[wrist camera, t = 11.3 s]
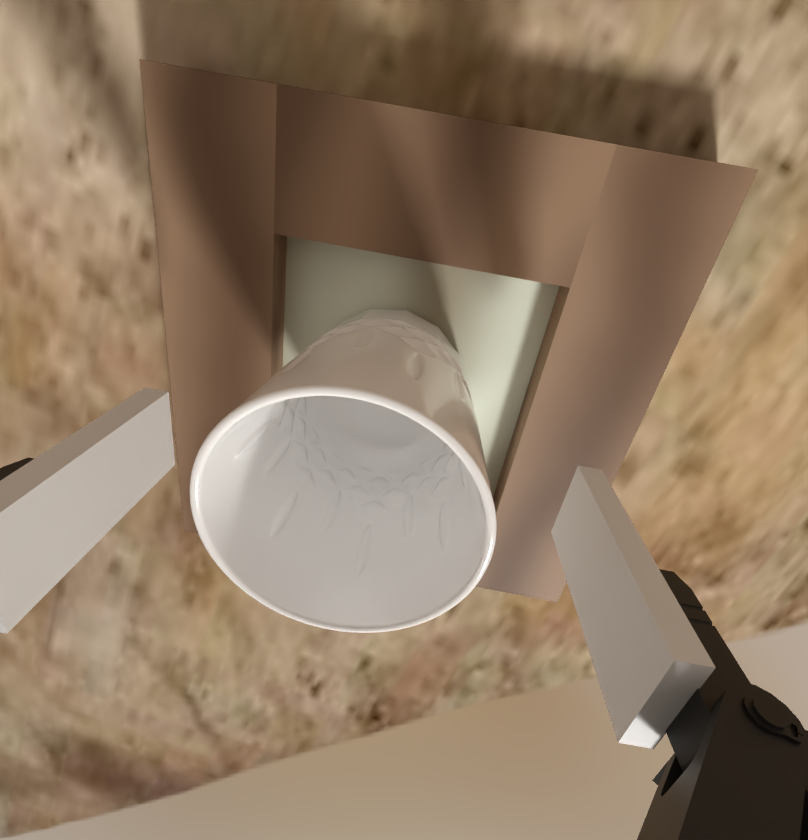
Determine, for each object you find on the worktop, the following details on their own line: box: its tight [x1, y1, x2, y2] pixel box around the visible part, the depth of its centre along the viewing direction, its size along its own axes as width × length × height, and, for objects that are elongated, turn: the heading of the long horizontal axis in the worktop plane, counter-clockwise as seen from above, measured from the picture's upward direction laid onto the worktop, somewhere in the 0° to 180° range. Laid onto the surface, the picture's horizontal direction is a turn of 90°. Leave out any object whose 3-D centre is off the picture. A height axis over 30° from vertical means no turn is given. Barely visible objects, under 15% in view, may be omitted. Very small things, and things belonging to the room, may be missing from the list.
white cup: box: [190, 309, 497, 633], centre depth 16 cm, size 8×8×10 cm
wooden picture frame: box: [140, 59, 758, 602], centre depth 20 cm, size 20×20×2 cm
